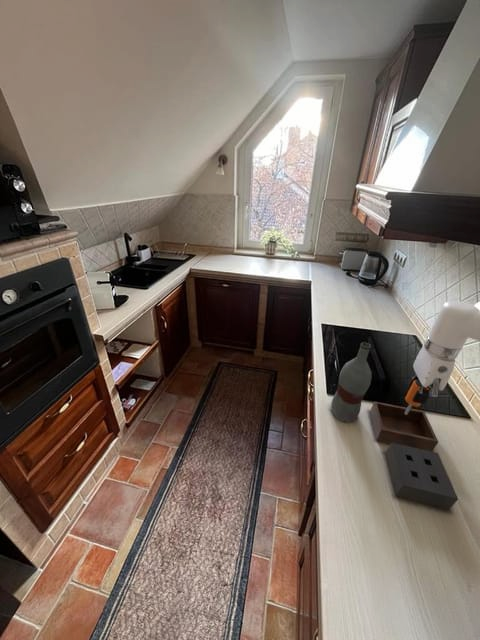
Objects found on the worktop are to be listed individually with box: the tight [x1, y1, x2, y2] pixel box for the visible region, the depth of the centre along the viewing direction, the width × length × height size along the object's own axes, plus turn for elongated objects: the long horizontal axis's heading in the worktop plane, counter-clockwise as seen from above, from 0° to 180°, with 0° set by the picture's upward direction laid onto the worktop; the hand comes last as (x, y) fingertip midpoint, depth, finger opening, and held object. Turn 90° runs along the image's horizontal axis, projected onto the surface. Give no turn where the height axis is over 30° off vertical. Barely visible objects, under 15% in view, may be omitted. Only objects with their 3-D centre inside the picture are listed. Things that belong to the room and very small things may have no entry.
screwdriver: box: [404, 379, 429, 415], centre depth 77 cm, size 4×4×13 cm
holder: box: [384, 443, 459, 511], centre depth 69 cm, size 12×12×6 cm
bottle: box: [330, 341, 373, 423], centre depth 83 cm, size 9×9×30 cm
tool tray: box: [369, 401, 439, 452], centre depth 83 cm, size 16×12×6 cm
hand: (415, 395), depth 76 cm, fingers closed on screwdriver, 4 cm apart
